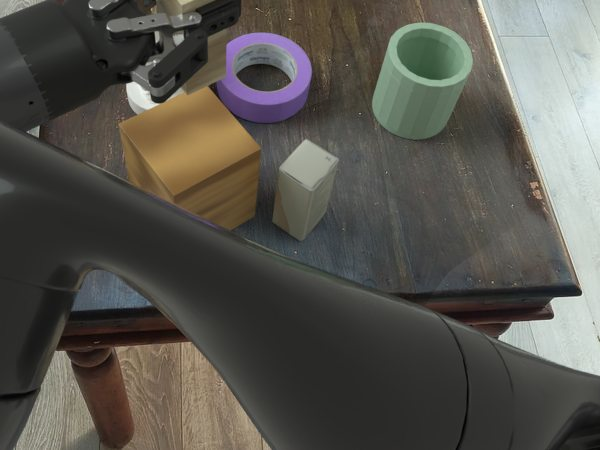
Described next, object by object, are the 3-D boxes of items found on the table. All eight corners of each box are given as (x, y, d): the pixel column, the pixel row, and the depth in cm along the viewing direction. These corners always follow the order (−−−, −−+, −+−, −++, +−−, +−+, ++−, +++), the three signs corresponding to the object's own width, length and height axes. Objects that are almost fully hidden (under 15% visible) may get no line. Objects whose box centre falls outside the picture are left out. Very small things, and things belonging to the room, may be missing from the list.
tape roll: (327, 94, 90) (331, 73, 87) (258, 139, 85) (259, 119, 82) (267, 40, 94) (269, 18, 91) (197, 80, 89) (197, 59, 86)
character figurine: (134, 127, 84) (122, 56, 74) (121, 69, 89) (109, -6, 78) (206, 116, 86) (204, 45, 76) (190, 59, 91) (187, -15, 80)
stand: (254, 216, 80) (261, 148, 69) (179, 260, 76) (173, 196, 65) (205, 156, 83) (204, 82, 72) (131, 195, 80) (118, 123, 68)
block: (226, 77, 61) (227, -15, 53) (187, 96, 60) (182, 5, 51) (200, 48, 63) (198, -46, 54) (162, 66, 61) (152, -28, 53)
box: (296, 193, 82) (307, 135, 73) (326, 213, 81) (341, 157, 72) (269, 223, 80) (277, 167, 70) (300, 244, 79) (312, 190, 69)
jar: (464, 118, 91) (490, 63, 82) (407, 152, 87) (428, 99, 78) (412, 68, 94) (432, 11, 86) (356, 99, 90) (371, 42, 82)
